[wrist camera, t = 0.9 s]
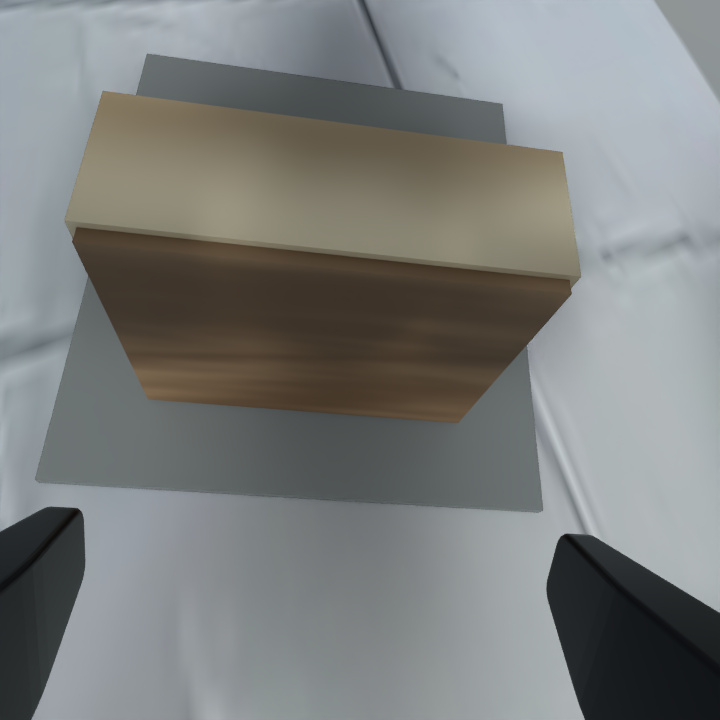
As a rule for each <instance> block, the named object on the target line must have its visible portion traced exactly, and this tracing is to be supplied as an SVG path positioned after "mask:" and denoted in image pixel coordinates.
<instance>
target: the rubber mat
mask: <svg viewBox="0 0 720 720" xmlns="http://www.w3.org/2000/svg"><path fill="white" fill-rule="evenodd" d="M136 95H137V96H145V97H152V98H160V99H167V100H175V101H182V102H190V103H197V104H205V105H212V106H220V107H227V108H235V109H242V110H250V111H257V112H265V113H272V114H280V115H288V116H295V117H303V118H310V119H318V120H325V121H333V122H340V123H348V124H355V125H363V126H370V127H378V128H385V129H393V130H400V131H408V132H415V133H423V134H430V135H438V136H445V137H453V138H460V139H468V140H475V141H483V142H490V143H498V144H505V145H506V135H505V125H504V115H503V105H502V104H499V103H492V102H485V101H478V100H471V99H464V98H457V97H450V96H443V95H435V94H428V93H421V92H414V91H407V90H400V89H393V88H386V87H379V86H372V85H365V84H358V83H350V82H343V81H336V80H329V79H322V78H315V77H308V76H301V75H294V74H287V73H280V72H272V71H265V70H258V69H251V68H244V67H237V66H230V65H223V64H216V63H209V62H202V61H195V60H187V59H180V58H173V57H166V56H159V55H152V54H147V56H146V60H145V63H144V67H143V71H142V75H141V79H140V82H139V86H138V90H137V94H136ZM35 480H36V481H37V482H39V483H55V484H72V485H88V486H105V487H122V488H138V489H155V490H172V491H189V492H205V493H222V494H239V495H255V496H272V497H289V498H305V499H322V500H339V501H355V502H372V503H389V504H405V505H422V506H439V507H455V508H472V509H489V510H505V511H522V512H541V511H543V503H542V493H541V483H540V473H539V463H538V454H537V444H536V434H535V424H534V414H533V404H532V394H531V384H530V374H529V364H528V354H527V345H526V346H525V348H524V349H523V350H522V351H521V352H520V353H519V354H518V356H517V357H516V358H515V359H514V360H513V361H512V362H511V364H510V365H509V366H508V367H507V368H506V369H505V370H504V371H503V373H502V374H501V375H500V376H499V377H498V378H497V379H496V381H495V382H494V383H493V384H492V385H491V386H490V387H489V388H488V390H487V391H486V392H485V393H484V394H483V395H482V396H481V398H480V399H479V400H478V401H477V402H476V403H475V404H474V406H473V407H472V408H471V409H470V410H469V411H468V412H467V413H466V415H465V416H464V417H463V418H462V419H461V420H460V421H459V423H449V422H436V421H423V420H410V419H397V418H384V417H371V416H358V415H345V414H332V413H319V412H306V411H293V410H280V409H266V408H253V407H240V406H227V405H214V404H201V403H188V402H175V401H162V400H149V399H148V398H147V396H146V394H145V392H144V390H143V388H142V386H141V384H140V382H139V380H138V378H137V376H136V374H135V371H134V369H133V367H132V365H131V363H130V361H129V359H128V357H127V355H126V353H125V351H124V349H123V346H122V344H121V342H120V340H119V338H118V336H117V334H116V332H115V330H114V328H113V326H112V324H111V322H110V319H109V317H108V315H107V313H106V311H105V309H104V307H103V305H102V303H101V301H100V299H99V297H98V294H97V292H96V290H95V288H94V286H93V284H92V282H91V280H90V278H89V276H88V280H87V284H86V287H85V291H84V295H83V299H82V303H81V306H80V310H79V314H78V318H77V322H76V325H75V329H74V333H73V337H72V341H71V344H70V348H69V352H68V356H67V360H66V363H65V367H64V371H63V375H62V379H61V382H60V386H59V390H58V394H57V398H56V401H55V405H54V409H53V413H52V417H51V420H50V424H49V428H48V432H47V436H46V439H45V443H44V447H43V451H42V455H41V458H40V462H39V466H38V470H37V474H36V477H35Z"/></svg>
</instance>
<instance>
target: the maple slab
mask: <svg viewBox="0 0 720 720" xmlns="http://www.w3.org/2000/svg"><path fill="white" fill-rule="evenodd" d="M64 221H65V223H66V225H67V227H68V229H69V231H70V234H71V236H72V238H73V241H72V242H73V245H74V247H75V249H76V251H77V253H78V255H79V257H80V259H81V261H82V263H83V265H84V267H85V270H86V272H87V274H88V276H89V278H90V280H91V282H92V284H93V286H94V288H95V290H96V292H97V294H98V297H99V299H100V301H101V303H102V305H103V307H104V309H105V311H106V313H107V315H108V317H109V319H110V322H111V324H112V326H113V328H114V330H115V332H116V334H117V336H118V338H119V340H120V342H121V344H122V346H123V349H124V351H125V353H126V355H127V357H128V359H129V361H130V363H131V365H132V367H133V369H134V371H135V374H136V376H137V378H138V380H139V382H140V384H141V386H142V388H143V390H144V392H145V394H146V396H147V398H148V399H149V400H162V401H175V402H188V403H201V404H214V405H227V406H240V407H253V408H266V409H280V410H293V411H306V412H319V413H332V414H345V415H358V416H371V417H384V418H397V419H410V420H423V421H436V422H449V423H459V421H460V420H461V419H462V418H463V417H464V416H465V415H466V413H467V412H468V411H469V410H470V409H471V408H472V407H473V406H474V404H475V403H476V402H477V401H478V400H479V399H480V398H481V396H482V395H483V394H484V393H485V392H486V391H487V390H488V388H489V387H490V386H491V385H492V384H493V383H494V382H495V381H496V379H497V378H498V377H499V376H500V375H501V374H502V373H503V371H504V370H505V369H506V368H507V367H508V366H509V365H510V364H511V362H512V361H513V360H514V359H515V358H516V357H517V356H518V354H519V353H520V352H521V351H522V350H523V349H524V348H525V346H526V345H527V344H528V343H529V342H530V341H531V340H532V339H533V337H534V336H535V335H536V334H537V333H538V332H539V331H540V329H541V328H542V327H543V326H544V325H545V324H546V323H547V321H548V320H549V319H550V318H551V317H552V316H553V315H554V314H555V312H556V311H557V310H558V309H559V308H560V307H561V306H562V304H563V303H564V302H565V301H566V300H567V299H568V298H569V296H570V295H571V294H572V293H571V288H572V287H573V285H574V284H575V283H576V282H577V281H578V280H579V278H580V277H581V272H580V265H579V258H578V252H577V245H576V239H575V232H574V226H573V219H572V212H571V206H570V199H569V193H568V186H567V180H566V173H565V166H564V160H563V153H562V152H558V151H550V150H543V149H535V148H528V147H520V146H513V145H505V144H498V143H490V142H483V141H475V140H468V139H460V138H453V137H445V136H438V135H430V134H423V133H415V132H408V131H400V130H393V129H385V128H378V127H370V126H363V125H355V124H348V123H340V122H333V121H325V120H318V119H310V118H303V117H295V116H288V115H280V114H272V113H265V112H257V111H250V110H242V109H235V108H227V107H220V106H212V105H205V104H197V103H190V102H182V101H175V100H167V99H160V98H152V97H145V96H137V95H130V94H122V93H115V92H107V91H103V92H102V95H101V99H100V102H99V105H98V109H97V112H96V116H95V119H94V122H93V126H92V129H91V132H90V136H89V139H88V142H87V146H86V149H85V153H84V156H83V159H82V163H81V166H80V169H79V173H78V176H77V179H76V183H75V186H74V189H73V193H72V196H71V200H70V203H69V206H68V210H67V213H66V216H65V220H64Z"/></svg>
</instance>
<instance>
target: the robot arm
mask: <svg viewBox="0 0 720 720" xmlns="http://www.w3.org/2000/svg"><path fill="white" fill-rule="evenodd" d="M84 571H85V538H84V518H83V514H82V512H81V511H80V510H79V509H78V508H66V507H46V508H44V509H42V510H40V511H38V512H36V513H34V514H32V515H31V516H29V517H27V518H25V519H23V520H21V521H19V522H18V523H16V524H14V525H12V526H10V527H8V528H6V529H4V530H3V531H1V532H0V720H31V719H32V717H33V715H34V713H35V710H36V708H37V706H38V704H39V701H40V699H41V697H42V694H43V692H44V689H45V686H46V684H47V681H48V678H49V675H50V673H51V670H52V667H53V664H54V661H55V658H56V655H57V652H58V650H59V647H60V644H61V641H62V638H63V635H64V632H65V629H66V627H67V624H68V621H69V618H70V615H71V612H72V609H73V606H74V604H75V601H76V598H77V595H78V592H79V589H80V586H81V583H82V580H83V576H84ZM546 589H547V598H548V602H549V606H550V609H551V613H552V616H553V619H554V623H555V626H556V629H557V633H558V636H559V640H560V643H561V646H562V650H563V653H564V657H565V660H566V663H567V667H568V670H569V674H570V677H571V680H572V684H573V687H574V690H575V693H576V696H577V699H578V702H579V705H580V708H581V711H582V713H583V716H584V719H585V720H720V613H719V612H717V611H716V610H714V609H712V608H711V607H709V606H707V605H706V604H704V603H702V602H701V601H699V600H697V599H696V598H694V597H693V596H691V595H689V594H688V593H686V592H684V591H683V590H681V589H679V588H678V587H676V586H674V585H673V584H671V583H670V582H668V581H666V580H665V579H663V578H661V577H660V576H658V575H656V574H655V573H653V572H651V571H650V570H648V569H646V568H645V567H643V566H642V565H640V564H638V563H637V562H635V561H633V560H632V559H630V558H628V557H627V556H625V555H623V554H622V553H620V552H619V551H617V550H615V549H614V548H612V547H610V546H609V545H607V544H605V543H604V542H602V541H600V540H599V539H597V538H596V537H594V536H591V535H585V534H564V535H563V536H561V537H560V539H559V540H558V543H557V546H556V549H555V553H554V557H553V561H552V564H551V568H550V572H549V576H548V579H547V587H546Z"/></svg>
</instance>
